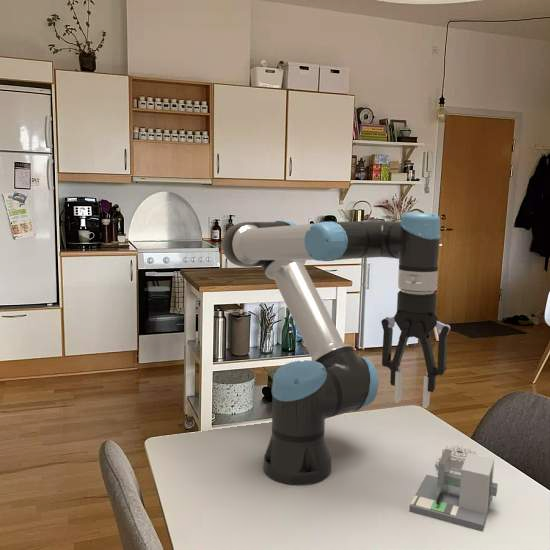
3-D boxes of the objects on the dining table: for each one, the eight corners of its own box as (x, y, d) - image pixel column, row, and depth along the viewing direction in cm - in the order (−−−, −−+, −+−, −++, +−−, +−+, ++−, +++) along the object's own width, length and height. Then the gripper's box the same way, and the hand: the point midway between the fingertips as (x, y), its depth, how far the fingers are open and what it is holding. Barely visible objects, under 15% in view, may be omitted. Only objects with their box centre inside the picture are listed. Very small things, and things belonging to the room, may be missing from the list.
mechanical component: (437, 478, 122) (485, 483, 120) (438, 459, 122) (487, 464, 120) (433, 458, 132) (478, 462, 130) (434, 440, 131) (479, 444, 129)
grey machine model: (432, 504, 108) (434, 469, 107) (443, 480, 117) (445, 448, 116) (491, 519, 103) (494, 483, 102) (498, 493, 112) (500, 460, 111)
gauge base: (409, 511, 109) (411, 467, 108) (426, 479, 121) (428, 440, 120) (482, 531, 103) (486, 485, 101) (492, 495, 115) (495, 454, 114)
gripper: (367, 289, 112) (363, 401, 115) (461, 298, 104) (453, 418, 107) (378, 284, 119) (374, 390, 122) (467, 292, 110) (460, 405, 114)
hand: (411, 403), depth 114 cm, fingers open, 5 cm apart
